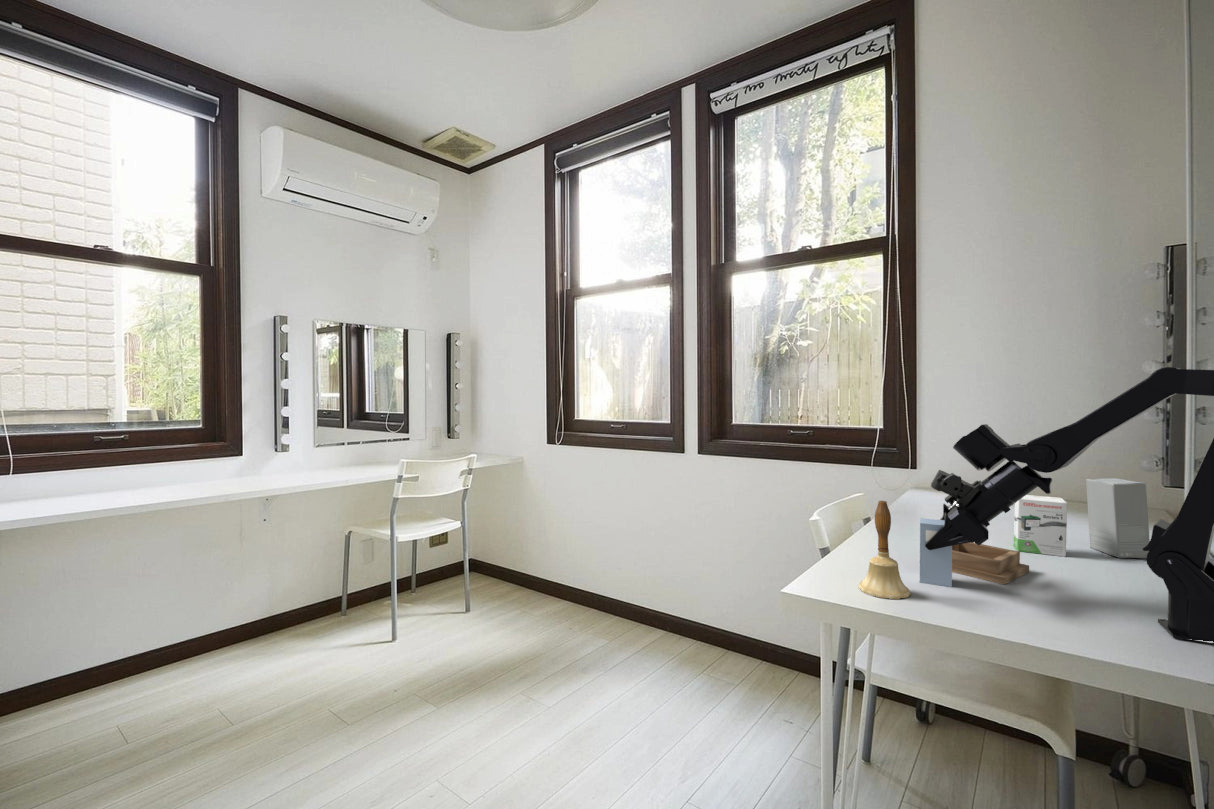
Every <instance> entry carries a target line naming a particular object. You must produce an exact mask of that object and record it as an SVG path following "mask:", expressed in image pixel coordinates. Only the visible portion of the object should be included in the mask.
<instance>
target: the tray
mask: <svg viewBox="0 0 1214 809" xmlns="http://www.w3.org/2000/svg"><path fill="white" fill-rule="evenodd" d="M1020 555H1021V551H1017V550H1013V549H1007V548H1003V547H997V546H993V545H987V544H984V543H982V544H981V545H977V544H976V543H975V542H973V543H971V542H970V543H964V544H958V545H953V546H952V573H955V574H960V575H964V576H968V577H972V578H975V579H981V580H983V581H987V582H992V583H997V584H1000V585H1007V584H1008V583H1010V582H1013V581H1015V579H1017V578H1019V577H1022V576H1024V575H1025V574H1028V573H1029V572H1030V565H1029V564H1024V563H1021V562H1020V560H1021V558H1020V557H1021V556H1020Z"/></svg>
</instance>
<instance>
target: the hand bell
mask: <svg viewBox="0 0 1214 809" xmlns="http://www.w3.org/2000/svg"><path fill="white" fill-rule="evenodd" d="M876 506H877V507H876V508H875V512H874V525H875V530H876V532H877V538H878V539H877V542H878V543H877V546H878V548H877V550H878V552H877V553H878V554H877V556H874V557H872V558H870V559H869V564H868V570H867V574H866V575H865V577H864V579H863V580H862V581H860V582H859V583H858V584H857V588H858V590H859V589H860V590H861V591H860V590H859V591H860V592H862V593H863V592H864V593H863V594H865V593H866V594H865V595H868V594H869V595H868V596H870V595H873V596H872V597H874V596H876V597H875V598H878V597H881V598H880V599H884V598H889V599H888V600H901V599H900V598H904V599H907V598H909V597H910V596H911V591H910V589H909V588H908V587H907V586H906V585H905V584H904V582H903V580H902V578H901V577H902V576H901V574H900V570H899V563H898V562H897V560H895V559H894V558H893V557H890V552H889V551H890V549H889V534H890V531H891V526H892V517H891V512H890V508H889V506H888V502H887V501H886V500H878V502H877V505H876Z"/></svg>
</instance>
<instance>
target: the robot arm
mask: <svg viewBox="0 0 1214 809" xmlns="http://www.w3.org/2000/svg"><path fill="white" fill-rule="evenodd" d="M1178 394H1179V395H1189V396H1191V395H1192V396H1193V395H1194V396H1195V395H1196V396H1207V397H1214V369H1193V368H1191V369H1190V368H1189V369H1186V368H1179V367H1171V366H1167V367H1161V368H1159V369H1156V370H1154V371H1153V372H1152V374H1150V375H1149V376H1148V377H1147V378H1145V379H1143V380H1142V381H1140V382H1139V383H1137V384H1136V385H1133V386H1132V387H1131V388H1128V389H1127V390H1126V391H1124V392H1122V393H1121V394H1119V395H1117V396H1116V397H1115V398H1113V399H1111V400H1109V401H1108V402H1106V403H1105V404H1103V405H1101V406H1099V407H1098V408H1096V409H1094V410H1093V411H1092V412H1090V413H1088V414H1087V415H1084V417H1082V418H1080V419H1079V420H1077V421H1075V422H1074V423H1071V424H1070V423H1069V424H1068V425H1066V426H1063V427H1061V428H1058V429H1056V430H1053V431H1051V432H1047V433H1046V434H1044V435H1041V436H1039V437H1036V438H1034V439H1031V440H1029V441H1027V443H1026V444H1021V443H1015V444H1014V443H1013V444H1009V443H1008V442H1006V441H1005V440H1004V439H1003V438H1002V437H1001V436H999V435H998V434H997V433H996V432H995V431H994V429H993V428H992V427H991V426H989V425H988V424H986V423H984V424H980V425H979V426H978V427H977V428H976V429H974V430H972V431H971V432H969V433H968V434H966V435H963V436H961V438H959V439H958V440H957V442H956V443H954V445H953V446H952V449H954V450H955V451H956V452H957V453H958V455H960V456H961V457H962V458H964V459H965V460H966V461H967V462H968V464H970V465H972V467H973V468H975V469H976V471H984V470H986V471H987V472H991V471H993V470H994V469H995V468H997V467H999V465H1001V464H1002V463H1004V462H1005V460H1007V462H1006V463H1004V464H1003V465H1002V466H1000V467H999V468H998V469H996V470H995V471H994V472H992V473H991V474H990V475H988V476H987V477H986V478H984V479H983V480H975V481H974V482H972V483H969V482H967V481H965V480H963V479H962V476H959V475H956V474H955V473H953V472H951V473H948V472H946V471H944V470H941V469H938V471H937V472H936V475H935V476H934V478H933V479H932V481H931V483H930V487H931V488H932V489H934V490H936V491H937V492H942V493H944V494H947V496H946V497H944V502H946V503H943V504H942V512H943V513H942V517H941V518H940V519H939V520H945V523H944V525H943V526H942V527H941V528H940V529H939V530H938V531H937V532H936V534H935V535H934V536H933V537H932V538H931V539H930V540H929V541H928V542H927V543H926V544H925V547H926V548H927V549H928V550H934V549H938V548H943V547H948V546H953V545H958V544H964V543H970V542H971V543H976V544H977V545H981V544H984V543H985V542H986V541H988V540H989V529H988V526H990V525H991V524H990V521H992V520H993V519H995V518H996V517H998V516H999V515H1000V514H1002V513H1003V512H1004V513H1005V514H1007V513H1008V512H1010V511H1011V508H1010V507H1012V506H1013V505H1015V503H1016V502H1017V501H1018V500H1020V499H1021V498H1023V497H1024V496H1025V495H1029V493H1031V492H1032V491H1034V490H1035V489H1037V488H1039V489H1040V490H1041V491H1043V492H1044V493H1045V494H1047V495H1051V494H1052V490H1051V487H1052V482H1053V479H1052V478H1051V477H1043V476H1042V475H1041V474H1040V473H1046V474H1049V473H1053V472H1055V471H1058V470H1061V469H1065V468H1067V467H1069V465H1071V464H1072V463H1073V462H1074V461H1076V459H1078V458H1079V457H1080V456H1081V455H1082V454H1083V453H1085V452H1086V451H1087V450H1088V449H1089V448H1090V447H1091V446H1092V445H1093V444H1095V443H1096V442H1097V441H1098V440H1100V438H1102V437H1104V436H1106V435H1108V434H1110V433H1111V432H1113V431H1114V430H1116V429H1118V428H1120V427H1122V426H1123V425H1125V424H1126V423H1128V422H1130V421H1132V420H1133V419H1135V418H1137V417H1139V416H1140V415H1141V414H1144V413H1145V412H1147V411H1149V410H1151V409H1152V408H1154V407H1156V406H1158V405H1159V404H1161V403H1162V402H1163V403H1164V402H1165V401H1166V400H1168V399H1170V398H1171V397H1173V396H1174V395H1178ZM1017 462H1018V463H1022V464H1026V465H1025V466H1023V467H1021V466H1020V465H1018V464H1017ZM1039 472H1040V473H1039ZM948 503H949V505H947V504H948ZM1177 514H1178V515H1177V516H1176V517H1175V518H1174V519H1173V521H1172V522H1171V523H1170V522H1168V521H1166V520H1164V519H1162V518H1161V519H1159V520H1158V521H1157V522H1156V523H1155V524H1153V528H1152V532H1151V537H1150V541H1149V542H1148V543H1147V545H1146V546H1145V547H1144V548H1143V550H1144V551H1149V552H1148V554H1147V559H1146V558H1145V559H1146V564H1147V565H1148V567H1149V569H1150V571H1151V572H1152V573H1154V575H1155V576H1156V577H1158V578H1160V579H1162V580H1163V582H1164V585H1165V586H1166V589H1167V591H1168V592H1167V593H1168V594H1167V597H1168V598H1167V619H1165V618H1157V623H1158V624H1159V625H1160V626H1161V627H1162V628H1163V629H1164V630H1166V632H1167V633H1168V634H1169V635H1170V636H1171V637H1172V636H1173V637H1172V638H1174V637H1175V638H1174V639H1178V638H1180V639H1179V640H1184V639H1192V640H1203V641H1213V642H1214V563H1213V562H1211V561H1210V560H1209V558H1210V553H1211V548H1212V542H1213V538H1214V438H1213V439H1212V441H1211V443H1210V445H1209V448H1208V449H1207V452H1206V453H1205V456H1204V458H1203V461H1202V463H1201V465H1200V467H1199V469H1198V471H1197V473H1196V475H1195V478H1194V480H1193V482H1192V483H1191V486H1190V488H1189V491H1188V492H1187V495H1186V497H1185V499H1184V501H1183V503H1182V506H1181V508H1180V510H1179V512H1178V513H1177ZM1181 638H1182V639H1181Z"/></svg>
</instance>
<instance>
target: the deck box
mask: <svg viewBox="0 0 1214 809" xmlns="http://www.w3.org/2000/svg"><path fill="white" fill-rule="evenodd" d="M919 519H920V521H919V583H923V584H929V585H930V584H931V585H936V586H943V587H949V588H952V587H953V586H952V585H953V583H952V581H953V579H952V578H953V572H952V546H948V547H943V548H938V549H934V550H928V549H927V548H926V547H925V544H926V543H927V542H928V541H929V540H930V539H931V538H932V537H933V536H934V535H935V534H936V532H937V531H938V530H939V529H940V528H941V527H942V526H943V525H944V523H945V520H940V519H934V518H926V517H924V518H923V517H920V518H919Z"/></svg>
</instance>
